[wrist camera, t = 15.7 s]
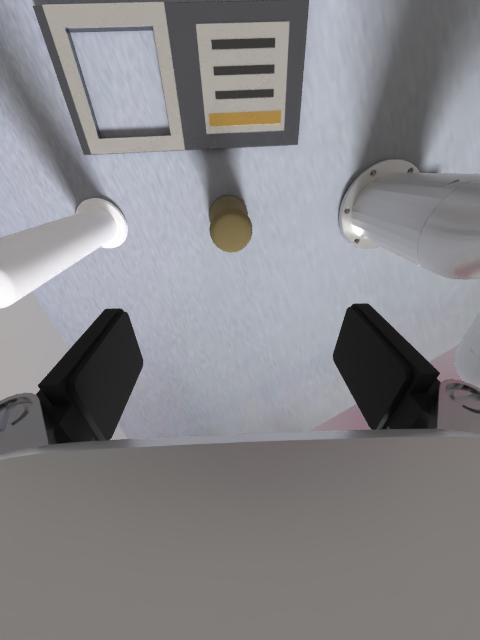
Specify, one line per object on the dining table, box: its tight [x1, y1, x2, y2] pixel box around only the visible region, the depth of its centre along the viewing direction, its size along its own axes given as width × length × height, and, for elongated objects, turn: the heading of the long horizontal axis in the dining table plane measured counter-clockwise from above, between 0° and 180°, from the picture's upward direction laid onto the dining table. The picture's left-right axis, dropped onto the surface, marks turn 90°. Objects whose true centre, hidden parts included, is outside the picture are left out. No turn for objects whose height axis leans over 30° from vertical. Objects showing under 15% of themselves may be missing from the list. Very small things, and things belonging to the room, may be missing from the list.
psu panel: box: [33, 0, 309, 155], centre depth 27 cm, size 28×12×1 cm, turn 92°
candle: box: [0, 198, 128, 308], centre depth 24 cm, size 7×7×25 cm
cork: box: [209, 195, 252, 252], centre depth 31 cm, size 6×6×11 cm
